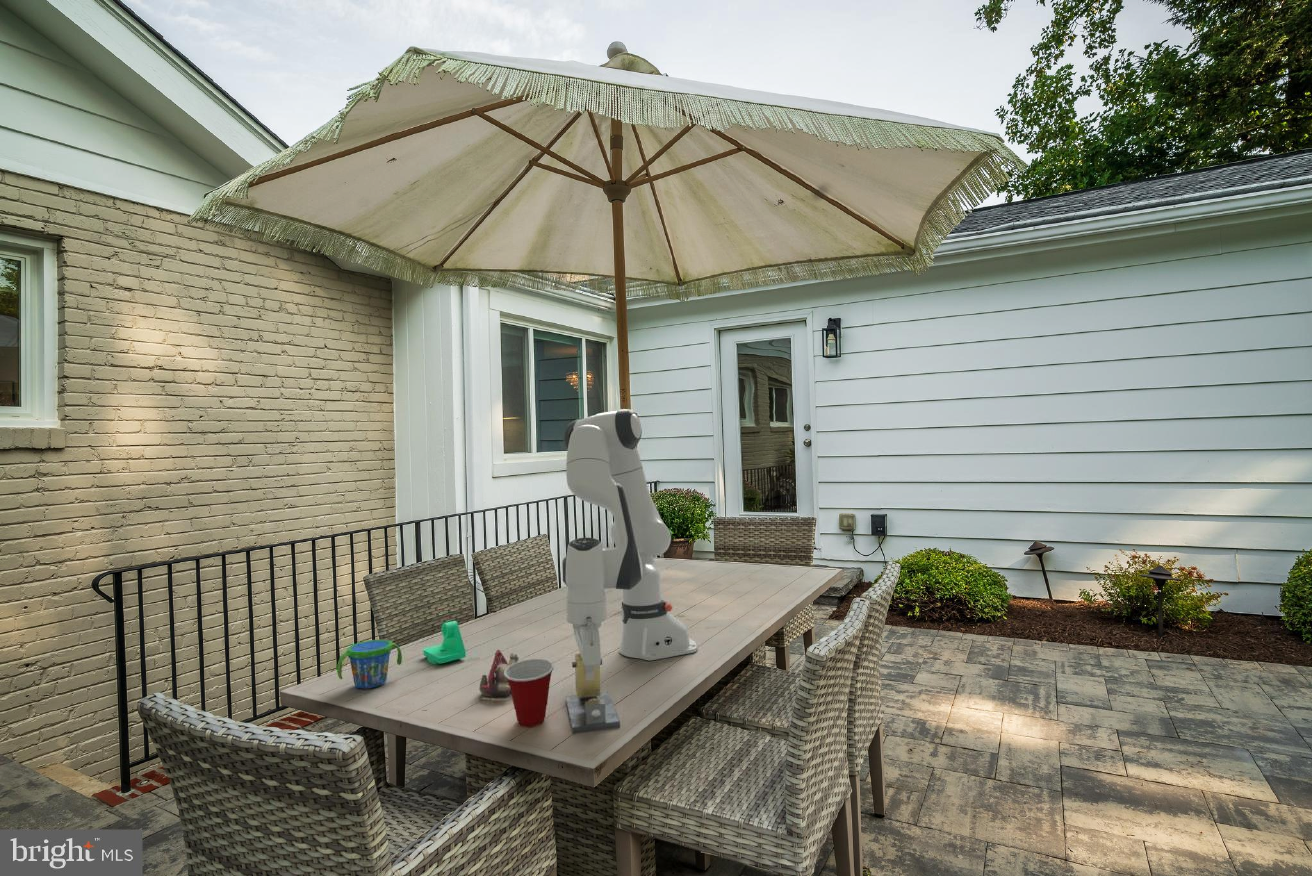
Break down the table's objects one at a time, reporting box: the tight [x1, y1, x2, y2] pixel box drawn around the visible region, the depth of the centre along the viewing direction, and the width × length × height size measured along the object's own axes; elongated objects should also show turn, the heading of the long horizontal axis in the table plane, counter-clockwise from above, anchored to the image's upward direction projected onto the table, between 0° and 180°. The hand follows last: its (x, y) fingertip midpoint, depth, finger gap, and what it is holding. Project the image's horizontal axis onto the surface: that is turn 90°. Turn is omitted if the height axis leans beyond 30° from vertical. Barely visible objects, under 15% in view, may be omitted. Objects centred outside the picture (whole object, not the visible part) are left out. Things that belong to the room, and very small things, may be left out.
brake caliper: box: [479, 649, 520, 702], centre depth 156 cm, size 11×10×11 cm
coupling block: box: [571, 653, 603, 698], centre depth 142 cm, size 7×5×8 cm
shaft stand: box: [565, 690, 621, 734], centre depth 142 cm, size 10×17×5 cm, turn 13°
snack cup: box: [336, 639, 403, 690], centre depth 165 cm, size 16×10×10 cm
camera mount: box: [423, 620, 467, 665], centre depth 183 cm, size 12×8×10 cm, turn 43°
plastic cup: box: [504, 658, 554, 728], centre depth 139 cm, size 11×11×12 cm
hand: (588, 674), depth 142 cm, fingers closed on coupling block, 5 cm apart
